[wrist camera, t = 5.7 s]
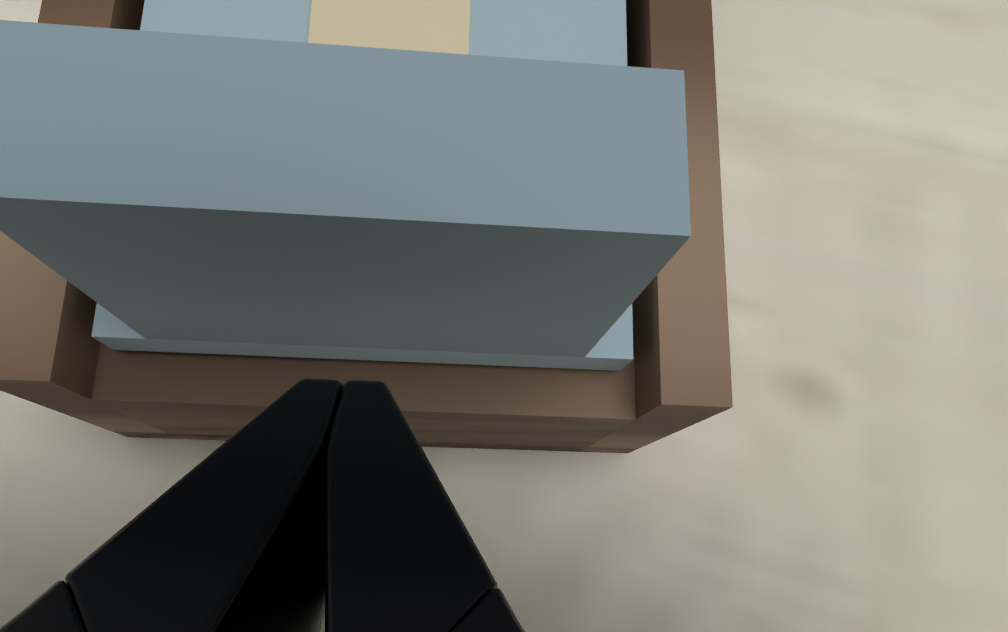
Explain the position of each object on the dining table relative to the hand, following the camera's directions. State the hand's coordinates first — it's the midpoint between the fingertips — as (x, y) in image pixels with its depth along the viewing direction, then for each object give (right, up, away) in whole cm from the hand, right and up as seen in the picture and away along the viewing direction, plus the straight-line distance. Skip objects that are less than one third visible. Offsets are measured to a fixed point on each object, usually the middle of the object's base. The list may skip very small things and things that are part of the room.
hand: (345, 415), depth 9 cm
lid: (0, +6, +5) cm, 8 cm away
